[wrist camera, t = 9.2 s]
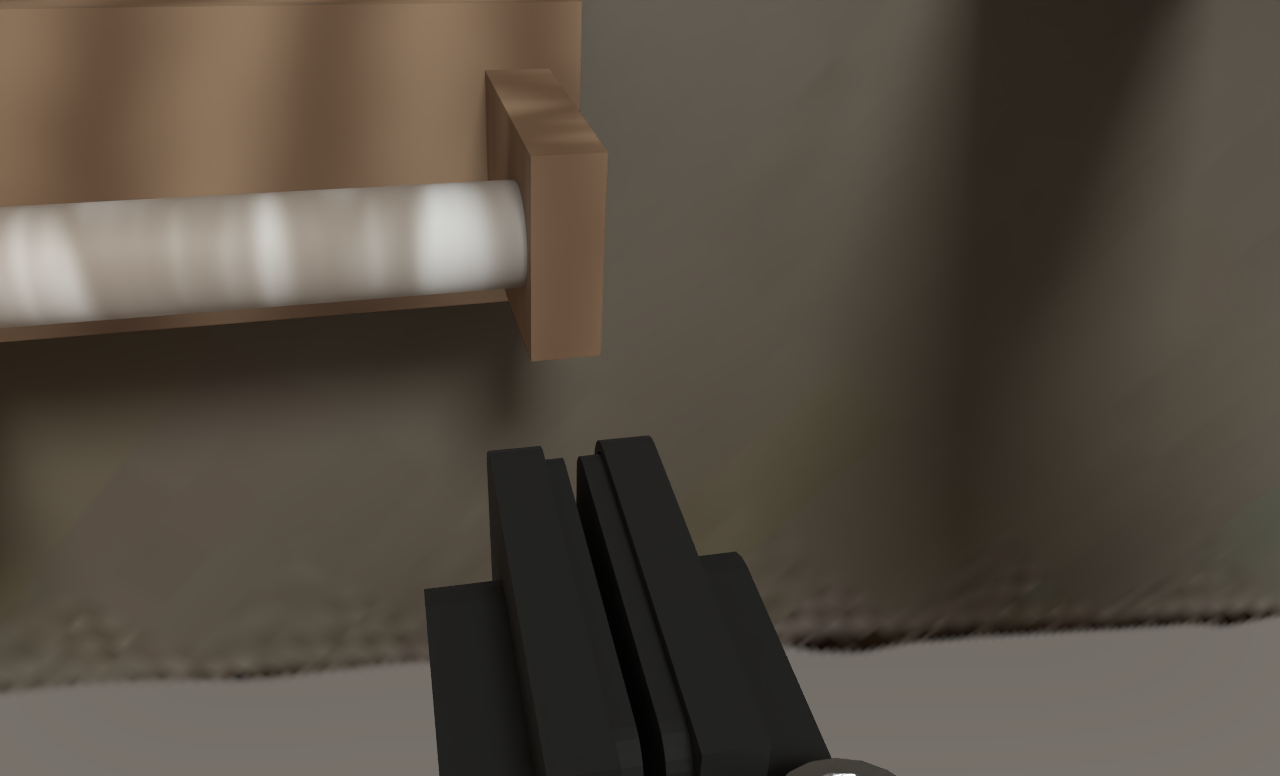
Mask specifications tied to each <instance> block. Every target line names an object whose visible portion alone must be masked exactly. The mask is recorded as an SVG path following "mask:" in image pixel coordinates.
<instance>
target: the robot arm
mask: <svg viewBox="0 0 1280 776" xmlns="http://www.w3.org/2000/svg"><path fill="white" fill-rule="evenodd" d="M487 473H488V495H489V517H490V539H491V561H492V581H489V582H481V583H472V584H464V585H456V586H448V587H439V588H431V589H424V594H425V607H426V619H427V631H428V643H429V655H430V667H431V679H432V690H433V703H434V715H435V727H436V739H437V751H438V764H439V775H440V776H896V775H894V774H893V773H891V772H890V771H888V770H886V769H883V768H880V767H877V766H875V765H872V764H869V763H867V762H864V761H860V760H850V759H841V758H831V756H830V754H829V751H828V749H827V747H826V745H825V743H824V740H823V738H822V736H821V733H820V731H819V729H818V727H817V724H816V722H815V720H814V717H813V715H812V713H811V710H810V708H809V706H808V704H807V701H806V699H805V697H804V695H803V692H802V690H801V688H800V685H799V683H798V681H797V679H796V676H795V674H794V672H793V670H792V667H791V665H790V663H789V660H788V658H787V656H786V654H785V651H784V649H783V647H782V645H781V642H780V640H779V638H778V636H777V633H776V631H775V629H774V626H773V624H772V622H771V620H770V617H769V615H768V613H767V611H766V608H765V606H764V604H763V601H762V599H761V597H760V595H759V592H758V590H757V588H756V586H755V583H754V581H753V579H752V576H751V574H750V572H749V570H748V567H747V566H746V564H745V562H744V560H743V558H742V557H741V556H740V555H739V554H738V553H737V552H729V553H721V554H713V555H705V556H698V554H697V551H696V549H695V546H694V543H693V541H692V538H691V536H690V533H689V531H688V528H687V526H686V523H685V520H684V518H683V515H682V513H681V510H680V508H679V505H678V503H677V500H676V497H675V495H674V492H673V490H672V487H671V485H670V482H669V480H668V477H667V474H666V472H665V469H664V467H663V464H662V462H661V459H660V457H659V454H658V451H657V449H656V446H655V444H654V442H653V440H652V438H651V437H650V436H638V437H628V438H618V439H607V440H598V441H597V442H596V446H595V455H587V456H579V457H578V460H577V497H576V502H575V498H574V495H573V491H572V487H571V484H570V480H569V476H568V473H567V469H566V465H565V462H564V459H563V458H557V459H547V460H545V457H544V453H543V450H542V448H541V446H535V447H525V448H515V449H504V450H494V451H488V452H487Z"/></svg>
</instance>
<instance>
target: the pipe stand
mask: <svg viewBox="0 0 1280 776" xmlns="http://www.w3.org/2000/svg"><path fill="white" fill-rule="evenodd" d="M581 30H582V1H581V0H0V342H10V341H22V340H35V339H47V338H59V337H72V336H84V335H96V334H109V333H121V332H133V331H146V330H158V329H170V328H182V327H195V326H207V325H219V324H232V323H244V322H256V321H269V320H281V319H293V318H306V317H318V316H330V315H343V314H355V313H367V312H379V311H392V310H404V309H416V308H429V307H441V306H453V305H466V304H478V303H490V302H503V301H509V303H510V306H511V309H512V311H513V314H514V317H515V319H516V322H517V325H518V327H519V330H520V333H521V335H522V338H523V341H524V344H525V346H526V349H527V352H528V354H529V357H530V360H531V362H533V361H544V360H554V359H565V358H575V357H586V356H596V355H601V332H602V305H603V277H604V249H605V221H606V193H607V165H608V152H607V151H606V149H605V148H604V146H603V145H602V143H601V142H600V140H599V139H598V138H597V136H596V135H595V133H594V132H593V130H592V129H591V128H590V126H589V125H588V123H587V122H586V120H585V119H584V118H583V116H582V115H581V113H580V77H581Z"/></svg>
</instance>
